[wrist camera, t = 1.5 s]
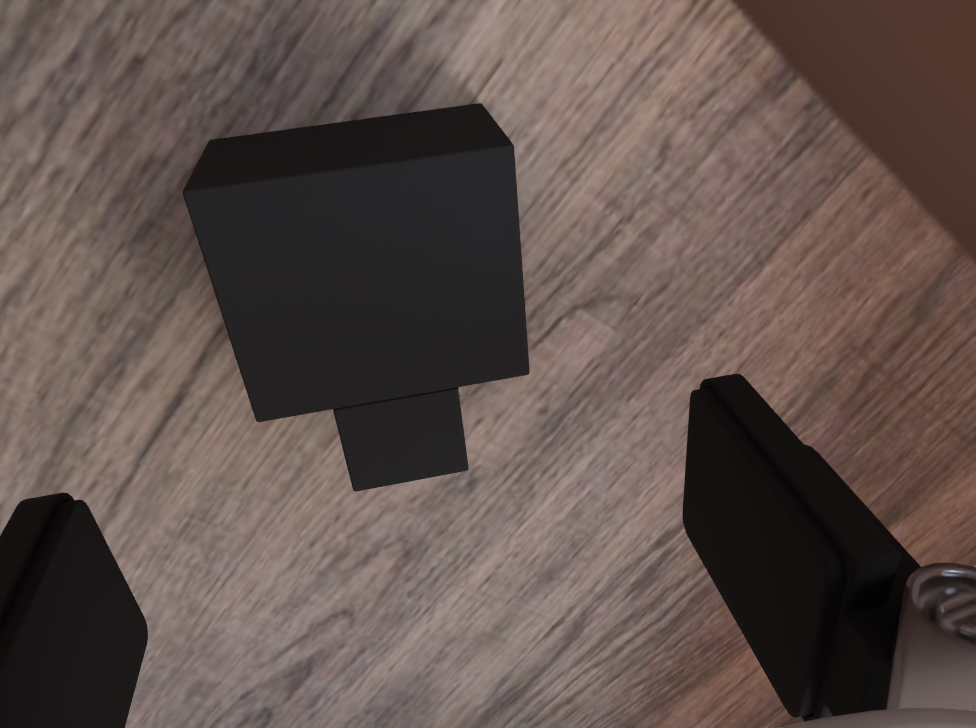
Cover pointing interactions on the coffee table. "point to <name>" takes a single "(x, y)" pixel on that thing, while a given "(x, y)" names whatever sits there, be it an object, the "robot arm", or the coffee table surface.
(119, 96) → the coffee table surface
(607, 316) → the coffee table surface
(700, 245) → the coffee table surface
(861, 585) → the robot arm
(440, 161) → the pad
